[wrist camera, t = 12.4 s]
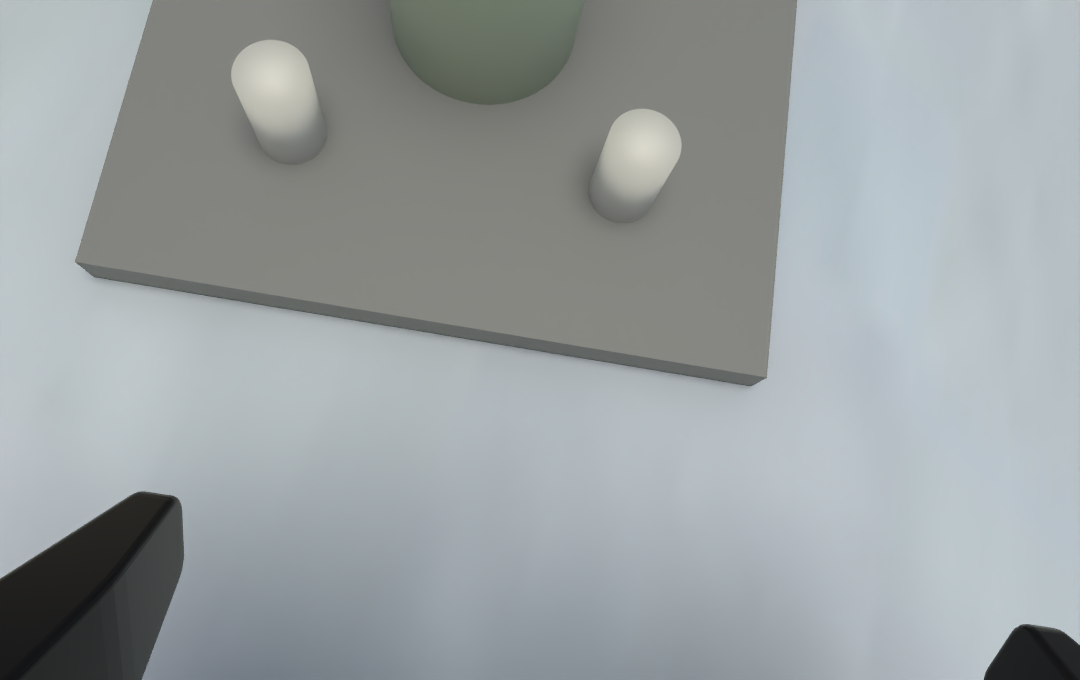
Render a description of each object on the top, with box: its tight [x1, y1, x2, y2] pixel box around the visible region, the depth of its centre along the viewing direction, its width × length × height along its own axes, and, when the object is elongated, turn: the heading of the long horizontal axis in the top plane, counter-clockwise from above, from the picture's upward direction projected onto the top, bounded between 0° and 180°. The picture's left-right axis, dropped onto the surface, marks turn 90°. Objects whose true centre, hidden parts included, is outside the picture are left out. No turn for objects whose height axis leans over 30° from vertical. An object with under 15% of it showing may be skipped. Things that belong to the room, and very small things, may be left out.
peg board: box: [75, 0, 797, 386], centre depth 24 cm, size 18×18×4 cm
